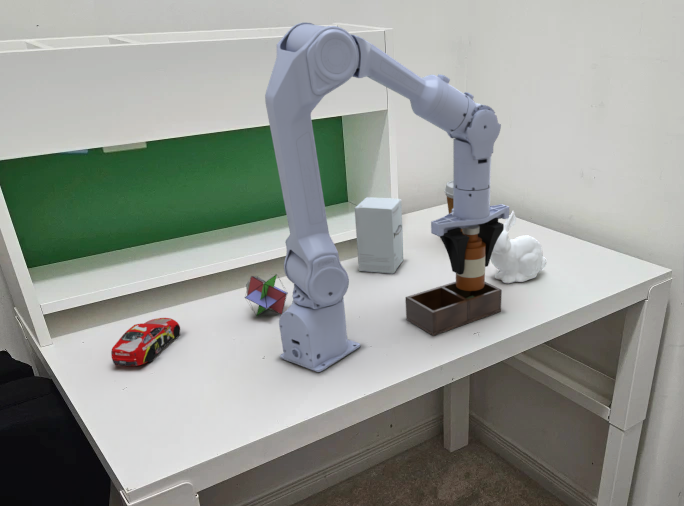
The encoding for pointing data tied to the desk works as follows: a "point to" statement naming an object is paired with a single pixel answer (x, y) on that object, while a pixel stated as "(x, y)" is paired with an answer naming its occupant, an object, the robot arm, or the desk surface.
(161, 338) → the race car
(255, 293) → the geometric puzzle
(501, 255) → the rabbit
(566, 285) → the desk surface
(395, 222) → the white packaging box
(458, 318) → the wooden compartment tray
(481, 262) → the amber bottle
